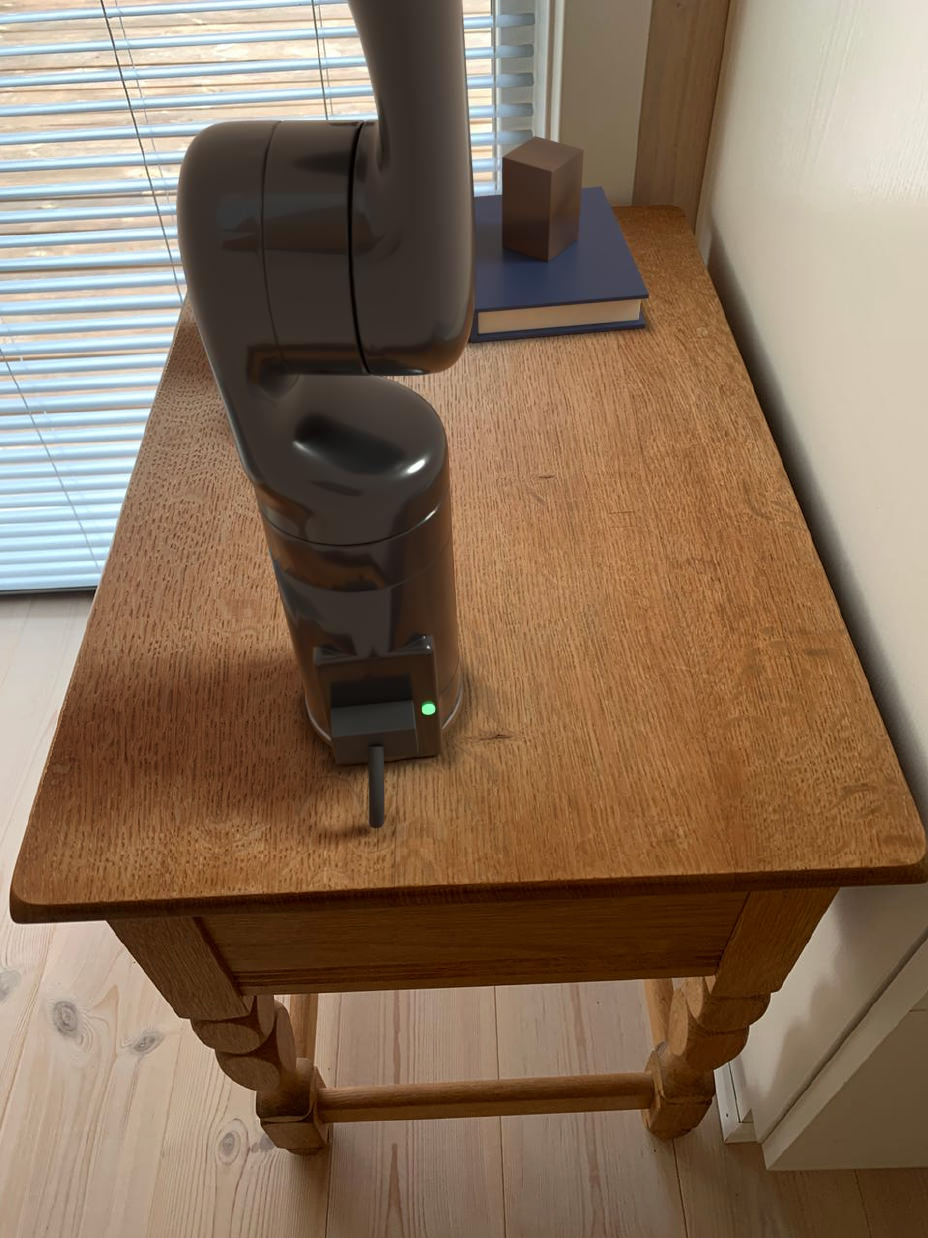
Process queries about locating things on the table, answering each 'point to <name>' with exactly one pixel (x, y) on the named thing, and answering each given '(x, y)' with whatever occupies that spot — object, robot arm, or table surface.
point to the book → (555, 279)
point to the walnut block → (541, 197)
